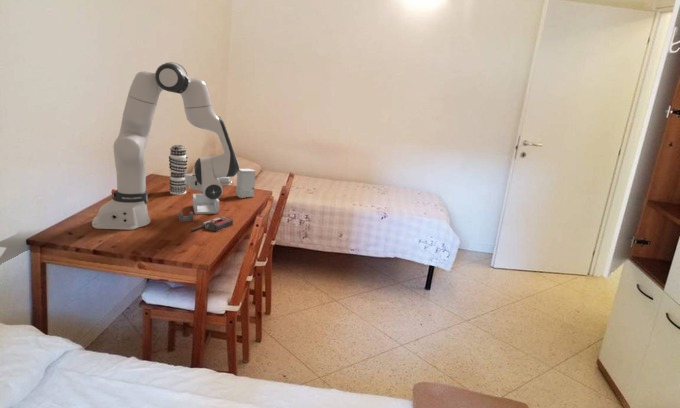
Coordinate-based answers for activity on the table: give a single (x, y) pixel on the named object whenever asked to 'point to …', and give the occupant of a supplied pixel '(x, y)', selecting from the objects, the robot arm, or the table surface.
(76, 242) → the table surface
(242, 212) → the table surface
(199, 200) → the box
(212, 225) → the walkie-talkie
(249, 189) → the skincare box
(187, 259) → the table surface
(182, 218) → the cable clip
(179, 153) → the decorative candle
